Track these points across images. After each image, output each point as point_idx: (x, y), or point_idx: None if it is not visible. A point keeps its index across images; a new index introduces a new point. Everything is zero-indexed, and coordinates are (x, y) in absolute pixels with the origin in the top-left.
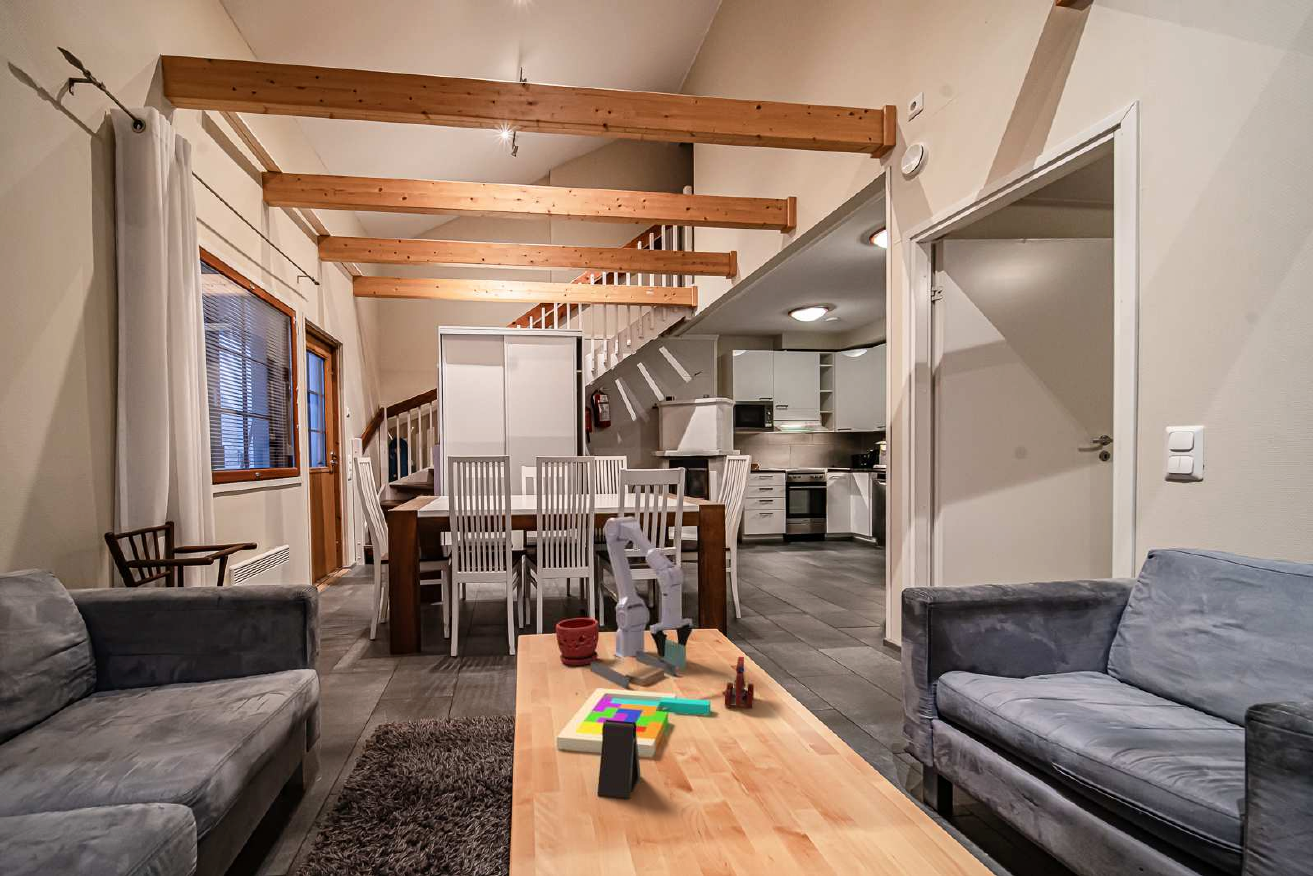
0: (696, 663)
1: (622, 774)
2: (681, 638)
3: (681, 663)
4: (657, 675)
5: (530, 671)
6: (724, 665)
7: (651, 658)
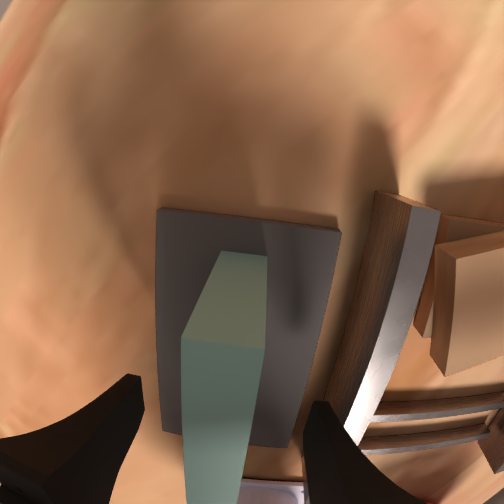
0: (79, 308)
1: None
2: (104, 457)
3: (259, 274)
4: (500, 240)
5: (491, 495)
6: (3, 187)
7: (366, 427)
